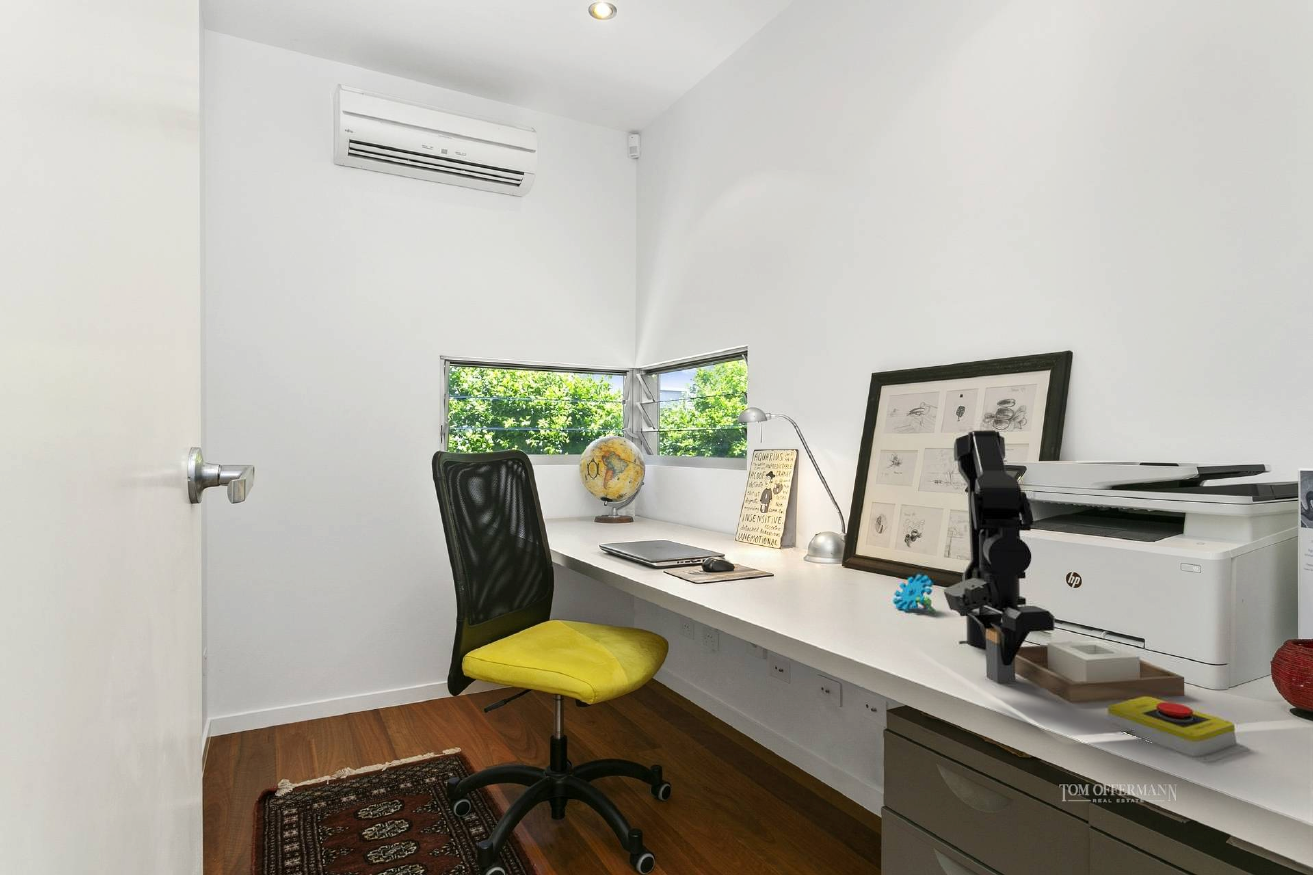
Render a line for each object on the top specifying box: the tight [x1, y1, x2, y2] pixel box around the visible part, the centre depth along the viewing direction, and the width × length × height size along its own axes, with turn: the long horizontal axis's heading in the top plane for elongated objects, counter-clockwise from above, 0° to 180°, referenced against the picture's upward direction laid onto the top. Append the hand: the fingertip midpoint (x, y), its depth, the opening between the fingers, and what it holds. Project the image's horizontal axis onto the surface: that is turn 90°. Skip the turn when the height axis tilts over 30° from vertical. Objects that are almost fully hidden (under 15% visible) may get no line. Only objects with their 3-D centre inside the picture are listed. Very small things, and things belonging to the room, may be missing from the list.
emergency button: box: [1106, 697, 1250, 764], centre depth 96 cm, size 9×4×15 cm
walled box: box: [1015, 644, 1186, 704], centre depth 115 cm, size 18×18×4 cm
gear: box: [892, 574, 937, 614], centre depth 165 cm, size 11×6×10 cm
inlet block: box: [1046, 639, 1141, 682], centre depth 117 cm, size 9×9×4 cm
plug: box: [985, 628, 1016, 684], centre depth 116 cm, size 3×3×8 cm
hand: (1000, 661), depth 116 cm, fingers closed on plug, 3 cm apart
